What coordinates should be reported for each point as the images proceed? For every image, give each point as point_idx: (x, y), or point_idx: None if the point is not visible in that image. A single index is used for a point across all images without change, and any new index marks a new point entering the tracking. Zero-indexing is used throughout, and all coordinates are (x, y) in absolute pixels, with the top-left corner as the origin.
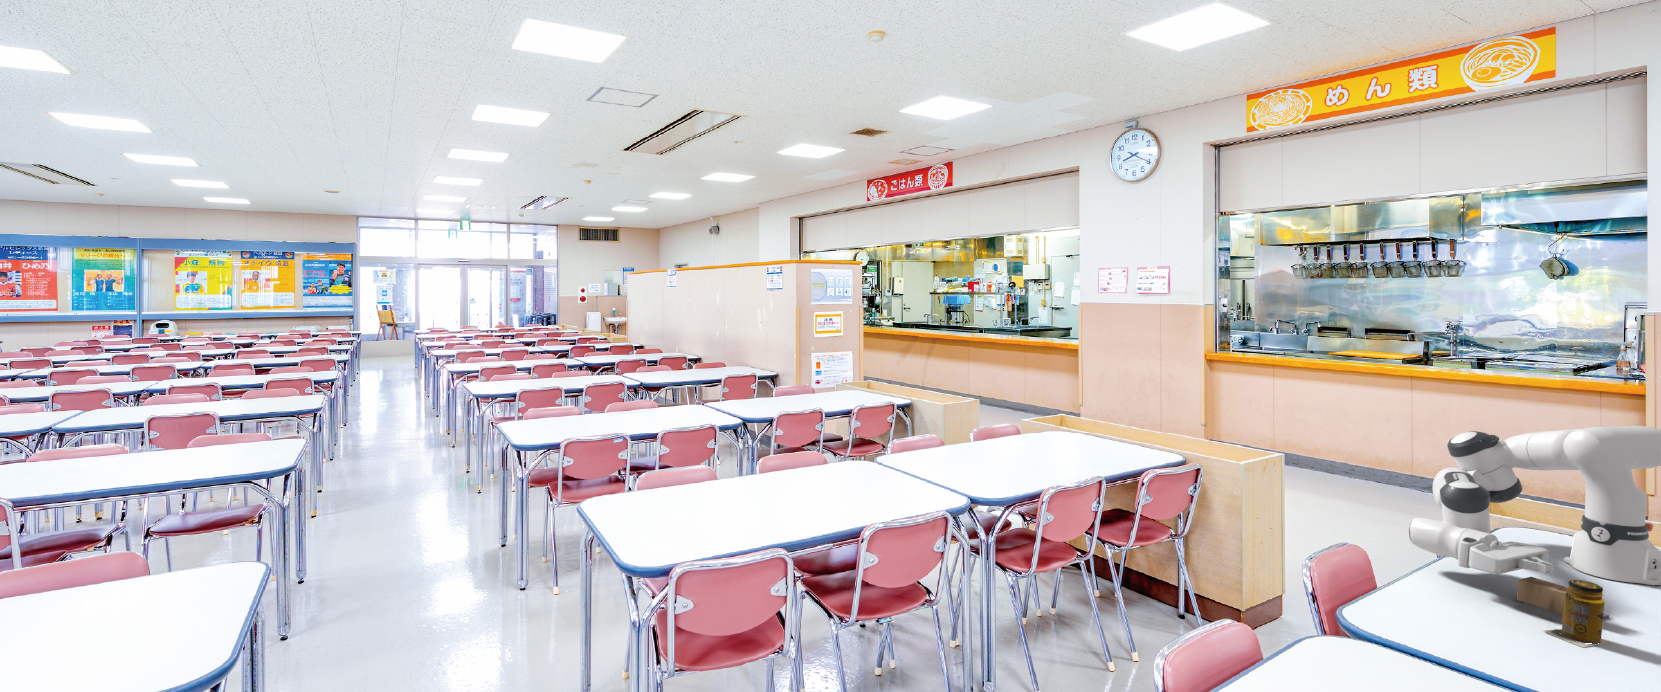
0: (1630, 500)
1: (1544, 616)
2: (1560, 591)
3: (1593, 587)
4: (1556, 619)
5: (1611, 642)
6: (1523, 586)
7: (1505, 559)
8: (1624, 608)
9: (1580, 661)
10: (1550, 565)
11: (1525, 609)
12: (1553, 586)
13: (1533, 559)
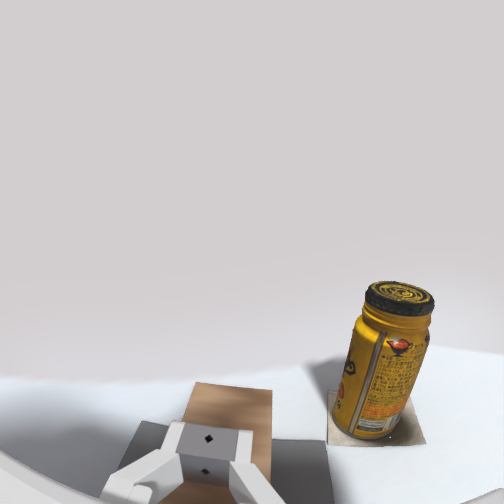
0: None
1: (331, 495)
2: (261, 445)
3: (400, 286)
4: (328, 470)
5: (329, 391)
6: None
7: (469, 500)
8: (38, 405)
9: (455, 373)
10: (198, 425)
11: None
12: None
13: (151, 497)
